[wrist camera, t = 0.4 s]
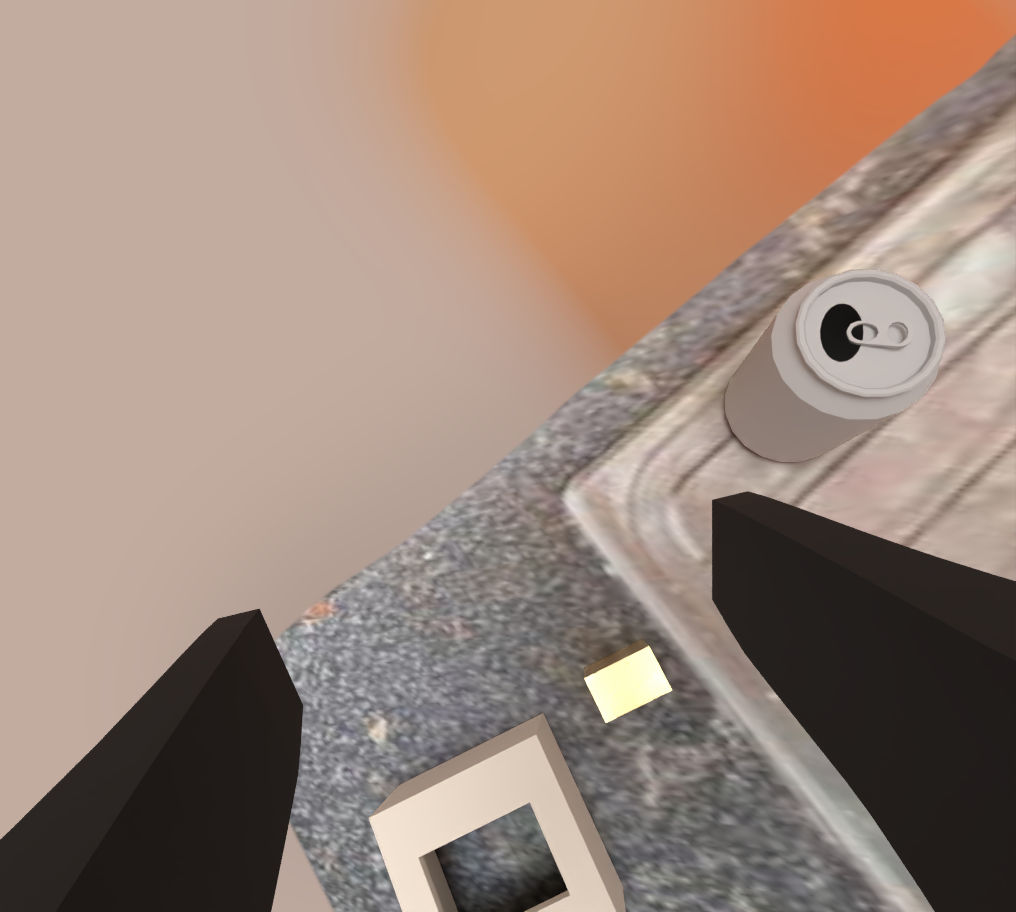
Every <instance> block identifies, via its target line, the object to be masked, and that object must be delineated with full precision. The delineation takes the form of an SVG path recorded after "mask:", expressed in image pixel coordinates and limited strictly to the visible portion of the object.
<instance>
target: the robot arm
mask: <svg viewBox="0 0 1016 912" xmlns="http://www.w3.org/2000/svg"><path fill="white" fill-rule="evenodd" d="M712 600H713V601H714V603H715V605H716V607H717V608H718V610H719V612H720V613H721V615H722V617H723V619H724V620H725V622H726V624H727V625H728V627H729V629H730V630H731V632H732V634H733V635H734V637H735V638H736V640H737V642H738V643H739V645H740V646H741V648H742V650H743V651H744V653H745V654H746V655H747V657H748V658H749V659H750V661H751V662H752V663H753V665H754V666H755V667H756V669H757V670H758V671H759V672H760V674H761V675H762V676H763V677H764V679H765V680H766V681H767V683H768V684H769V685H770V686H771V688H772V689H773V690H774V692H775V693H776V694H777V695H778V697H779V698H780V699H781V700H782V702H783V703H784V704H785V705H786V707H787V708H788V709H789V710H790V712H791V713H792V714H793V715H794V717H795V718H796V719H797V720H798V722H799V723H800V724H801V725H802V727H803V728H804V729H805V730H806V732H807V733H808V734H809V735H810V737H811V738H812V739H813V741H814V742H815V743H816V744H817V746H818V747H819V748H820V749H821V751H822V752H823V753H824V754H825V756H826V757H827V758H828V759H829V761H830V762H831V763H832V764H833V766H834V767H835V768H836V769H837V771H838V772H839V773H840V774H841V776H842V777H843V778H844V779H845V781H846V782H847V783H848V785H849V786H850V787H851V789H852V790H853V791H854V793H855V794H856V795H857V797H858V798H859V800H860V801H861V802H862V804H863V805H864V806H865V808H866V809H867V810H868V812H869V813H870V814H871V816H872V817H873V819H874V820H875V822H876V823H877V825H878V826H879V828H880V829H881V831H882V832H883V834H884V835H885V837H886V838H887V840H888V841H889V843H890V844H891V846H892V847H893V849H894V850H895V852H896V853H897V855H898V856H899V858H900V859H901V861H902V862H903V864H904V865H905V867H906V868H907V870H908V871H909V873H910V874H911V876H912V877H913V879H914V880H915V882H916V883H917V885H918V886H919V888H920V889H921V891H922V892H923V894H924V895H925V897H926V899H927V900H928V902H929V903H930V905H931V906H932V908H933V910H934V911H935V912H1016V581H1013V580H1009V579H1006V578H1002V577H999V576H996V575H992V574H989V573H986V572H983V571H980V570H976V569H973V568H970V567H967V566H964V565H961V564H957V563H954V562H951V561H948V560H945V559H941V558H938V557H935V556H932V555H929V554H926V553H923V552H920V551H917V550H914V549H911V548H908V547H905V546H903V545H900V544H897V543H894V542H891V541H888V540H885V539H883V538H880V537H877V536H874V535H871V534H869V533H866V532H863V531H860V530H857V529H855V528H852V527H849V526H846V525H844V524H841V523H838V522H835V521H833V520H830V519H827V518H825V517H822V516H819V515H816V514H814V513H811V512H808V511H805V510H803V509H800V508H797V507H794V506H792V505H789V504H786V503H783V502H780V501H777V500H774V499H771V498H768V497H765V496H762V495H758V494H755V493H751V492H748V491H747V492H743V493H739V494H735V495H731V496H727V497H722V498H718V499H714V500H712ZM302 714H303V704H302V702H301V700H300V698H299V695H298V693H297V691H296V689H295V686H294V684H293V682H292V680H291V678H290V675H289V673H288V671H287V669H286V666H285V664H284V662H283V660H282V658H281V655H280V653H279V651H278V649H277V647H276V644H275V642H274V640H273V638H272V635H271V633H270V631H269V629H268V627H267V624H266V622H265V620H264V618H263V615H262V613H261V611H260V609H257V610H252V611H248V612H244V613H239V614H235V615H232V616H227V617H223V618H219V619H217V620H216V621H215V622H214V623H213V624H212V625H211V626H210V627H208V628H207V629H206V630H205V631H204V632H203V633H202V634H201V635H200V636H199V637H198V639H196V641H195V642H193V644H192V645H191V646H190V647H189V648H188V649H187V650H186V651H185V652H184V653H183V654H182V655H181V656H180V657H179V658H178V659H177V660H176V661H175V663H173V665H172V666H171V667H170V668H169V669H168V670H167V671H166V672H165V673H164V674H163V676H161V677H160V678H159V679H158V681H157V682H156V683H155V684H154V685H153V686H152V687H151V688H150V689H149V690H148V691H147V692H146V693H145V694H144V695H143V697H142V698H141V699H140V700H139V701H138V702H137V703H136V704H135V705H134V706H133V707H132V708H131V709H130V710H129V711H128V712H127V713H126V714H125V715H124V716H123V718H122V719H121V720H120V721H119V722H118V723H117V724H116V725H115V726H114V727H113V728H112V729H111V730H110V731H109V732H108V733H107V734H106V735H105V737H104V738H103V739H102V740H101V741H100V742H99V743H98V744H97V745H96V746H95V747H94V748H93V749H92V750H91V751H90V752H89V753H88V754H87V755H86V756H85V757H84V758H83V759H82V760H81V761H80V762H79V763H78V764H77V765H76V766H75V767H74V768H73V769H72V770H71V771H70V772H69V773H68V774H67V775H66V776H65V777H64V778H63V779H62V780H61V781H60V782H59V783H58V784H57V785H56V786H55V787H53V788H52V790H51V791H50V792H49V793H47V794H46V795H45V796H44V797H43V798H42V799H41V801H39V803H37V804H36V805H35V806H34V808H32V809H31V810H30V811H29V812H28V813H27V814H26V815H25V816H24V817H23V818H22V819H21V820H20V821H19V823H17V824H16V825H15V826H14V827H13V828H12V829H11V830H10V831H9V832H8V833H7V834H6V835H5V836H4V837H3V838H2V839H0V912H271V909H272V905H273V899H274V895H275V889H276V885H277V879H278V875H279V870H280V864H281V860H282V855H283V850H284V845H285V840H286V835H287V830H288V825H289V819H290V814H291V809H292V804H293V799H294V794H295V788H296V783H297V777H298V770H299V758H300V746H301V731H302Z"/></svg>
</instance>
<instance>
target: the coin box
mask: <svg viewBox="0 0 1016 912" xmlns="http://www.w3.org/2000/svg"><path fill="white" fill-rule="evenodd" d="M528 803H530V804H531V806H532V808H533V811H534V813H535V815H536V818H537V820H538V822H539V825H540V827H541V829H542V831H543V834H544V836H545V838H546V841H547V843H548V845H549V848H550V850H551V852H552V854H553V857H554V859H555V861H556V864H557V866H558V868H559V871H560V873H561V875H562V877H563V880H564V882H565V884H566V887H567V889H568V890H567V891H565V892H563V893H561V894H559V895H557V896H555V897H553V898H551V899H549V900H547V901H545V902H543V903H541V904H539V905H537V906H535V907H533V908H530V909H528V910H526V911H524V912H626V911H625V902H624V894H623V886H622V883H621V881H620V879H619V877H618V875H617V872H616V870H615V868H614V866H613V864H612V862H611V859H610V857H609V855H608V853H607V851H606V848H605V846H604V844H603V842H602V840H601V838H600V835H599V833H598V831H597V829H596V827H595V825H594V822H593V820H592V818H591V816H590V814H589V811H588V809H587V807H586V805H585V803H584V801H583V798H582V796H581V794H580V792H579V790H578V788H577V785H576V783H575V781H574V779H573V777H572V775H571V772H570V770H569V768H568V766H567V764H566V761H565V759H564V757H563V755H562V753H561V751H560V748H559V746H558V744H557V742H556V740H555V738H554V735H553V733H552V731H551V729H550V727H549V724H548V722H547V720H546V718H545V716H544V714H543V713H542V714H540V715H538V716H536V717H534V718H532V719H530V720H528V721H526V722H524V723H522V724H520V725H518V726H516V727H514V728H512V729H510V730H508V731H506V732H504V733H502V734H500V735H498V736H496V737H494V738H492V739H490V740H488V741H486V742H484V743H482V744H480V745H478V746H476V747H474V748H472V749H470V750H468V751H466V752H464V753H462V754H460V755H458V756H456V757H454V758H452V759H450V760H448V761H446V762H444V763H442V764H440V765H438V766H436V767H434V768H432V769H430V770H428V771H426V772H424V773H422V774H420V775H418V776H416V777H414V778H412V779H410V780H408V781H406V782H404V783H402V784H400V785H399V786H398V787H397V788H396V789H395V790H394V791H393V792H392V793H391V794H390V795H389V797H388V798H387V799H386V800H385V801H384V802H383V803H382V804H381V805H380V806H379V807H378V809H377V810H376V811H375V812H374V813H373V814H372V815H371V816H370V817H369V820H370V823H371V825H372V828H373V831H374V834H375V837H376V839H377V842H378V845H379V848H380V850H381V853H382V856H383V859H384V862H385V864H386V867H387V870H388V873H389V875H390V878H391V881H392V884H393V887H394V889H395V892H396V895H397V898H398V900H399V903H400V906H401V909H402V912H458V910H457V907H456V905H455V902H454V899H453V897H452V894H451V892H450V889H449V886H448V884H447V881H446V878H445V876H444V873H443V871H442V868H441V865H440V863H439V860H438V858H437V855H436V852H435V849H437V848H439V847H441V846H443V845H445V844H447V843H449V842H451V841H453V840H455V839H457V838H459V837H461V836H463V835H465V834H467V833H469V832H471V831H473V830H475V829H477V828H479V827H481V826H483V825H485V824H487V823H489V822H491V821H493V820H495V819H497V818H499V817H501V816H503V815H505V814H507V813H509V812H511V811H513V810H515V809H517V808H520V807H522V806H524V805H526V804H528Z"/></svg>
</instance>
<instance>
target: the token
mask: <svg viewBox="0 0 1016 912" xmlns="http://www.w3.org/2000/svg"><path fill="white" fill-rule="evenodd" d="M584 679H585V681H586V683H587V685H588V687H589V689H590V691H591V693H592V695H593V698H594V700H595V702H596V704H597V706H598V708H599V710H600V712H601V714H602V716H603V718H604V720H605V722H606V723H607V722H609V721H611V720H613V719H615V718H617V717H619V716H621V715H623V714H625V713H627V712H629V711H631V710H633V709H635V708H637V707H639V706H641V705H643V704H645V703H647V702H649V701H651V700H653V699H655V698H657V697H659V696H661V695H663V694H665V693H667V692H669V691H671V690H672V689H671V687H670V685H669V683H668V681H667V679H666V677H665V675H664V673H663V672H662V670H661V668H660V666H659V664H658V662H657V660H656V658H655V656H654V654H653V653H652V651H651V649H650V647H649V645H648V644H647V643H646V642H645V641H644V640H643V639H641V640H639V641H637V642H635V643H633V644H631V645H629V646H627V647H625V648H623V649H621V650H619V651H617V652H615V653H613V654H611V655H609V656H607V657H605V658H603V659H601V660H599V661H597V662H595V663H593V664H591V665H589V666H587V667H585V668H584Z"/></svg>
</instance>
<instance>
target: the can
mask: <svg viewBox="0 0 1016 912" xmlns="http://www.w3.org/2000/svg"><path fill="white" fill-rule="evenodd" d="M945 343H946V334H945V327H944V321H943V318H942V316H941V314H940V312H939V310H938V308H937V307H936V305H935V303H934V301H933V300H932V299H931V298H930V297H929V296H928V295H927V294H926V293H925V292H924V291H923V290H922V289H921V288H920V287H919V286H918V285H916V284H914V283H913V282H911V281H909V280H907V279H905V278H903V277H901V276H899V275H897V274H894V273H890V272H885V271H881V270H876V269H859V270H849V271H846V272H843V273H839V274H834V275H831V276H828V277H824V278H821V279H818V280H815V281H812V282H810V283H808V284H807V285H805V286H804V287H803V288H801V289H800V290H798V291H797V292H795V293H794V294H792V295H791V296H790V297H789V299H788V300H787V302H786V303H785V304H784V306H783V307H782V308H781V310H780V311H779V312H778V314H777V315H776V316H775V318H774V319H773V321H772V322H771V323H770V325H769V326H768V328H767V329H766V330H765V332H764V333H763V335H762V336H761V337H760V339H759V340H758V342H757V343H756V344H755V346H754V347H753V349H752V350H751V351H750V353H749V354H748V356H747V357H746V358H745V360H744V361H743V363H742V364H741V365H740V367H739V368H738V370H737V371H736V372H735V374H734V375H733V377H732V378H731V379H730V381H729V384H728V388H727V391H726V394H725V415H726V417H727V419H728V422H729V424H730V427H731V429H732V431H733V433H734V434H735V435H736V436H737V437H738V439H739V440H740V441H741V442H742V443H743V444H744V446H746V447H747V448H749V449H751V450H752V451H754V452H755V453H757V454H758V455H760V456H762V457H765V458H769V459H772V460H775V461H779V462H802V461H805V460H808V459H812V458H815V457H818V456H820V455H822V454H824V453H826V452H828V451H830V450H831V449H833V448H835V447H837V446H839V445H841V444H843V443H844V442H846V441H848V440H850V439H852V438H854V437H856V436H857V435H859V434H861V433H863V432H865V431H867V430H869V429H870V428H872V427H874V426H876V425H878V424H880V423H882V422H883V421H885V420H887V419H889V418H891V417H893V416H895V415H896V414H898V413H900V412H902V411H903V410H905V409H906V408H908V407H909V406H911V405H912V404H913V403H915V402H916V401H918V400H919V399H920V398H922V397H923V396H924V394H925V393H926V391H927V390H928V389H929V387H930V386H931V384H932V383H933V381H934V380H935V378H936V377H937V373H938V368H939V364H940V361H941V360H942V356H943V351H944V347H945Z"/></svg>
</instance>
